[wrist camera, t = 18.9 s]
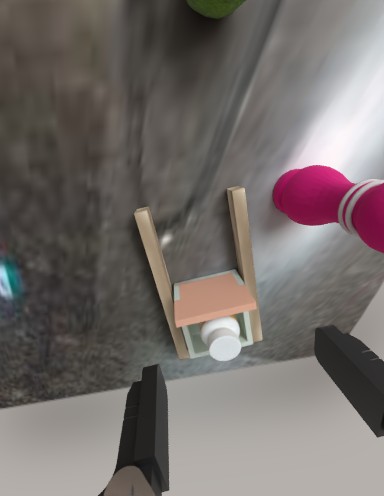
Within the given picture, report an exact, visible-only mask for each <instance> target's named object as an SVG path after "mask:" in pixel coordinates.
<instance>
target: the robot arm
mask: <svg viewBox="0 0 384 496" xmlns="http://www.w3.org/2000/svg"><path fill="white" fill-rule="evenodd" d="M314 351H315V355H316V358H317V360H318V362H319V363H320V365H321V366H322V367H323V368H324V370H325V371H326V372H327V373H328V375H329V376H330V377H331V379H332V380H333V381H334V382H335V384H336V385H337V386H338V388H339V389H340V390H341V391H342V393H343V394H344V395H345V397H346V398H347V399H348V400H349V402H350V403H351V404H352V405H353V407H354V408H355V409H356V410H357V412H358V413H359V414H360V416H361V417H362V418H363V420H364V421H365V422H366V423H367V425H368V426H369V427H370V429H371V430H372V431H373V432H374V434H375V435H376V436H377V437H381V436H384V361H383V360H381V359H379V357H378V356H377V355H376V354H375V353H374V352H372V351H370V349H369V348H368V347H367V346H366V345H365V344H364V343H362V342H361V341H360V340H358V339H357V338H355V337H353V336H351V335H350V334H348V333H346V334H343V333H342V332H341V331H340V330H338V329H337V328H336V327H335V326H334V325H328V326H324V327H319V328H316V330H315V347H314ZM168 490H169V456H168V399H167V389H166V385H165V381H164V378H163V375H162V372H161V368H160V365H159V364H156V365H152V366H148V367H144V368H143V371H142V381H138V382H134V383H133V384H132V386H131V388H130V390H129V392H128V394H127V400H126V410H125V413H124V421H123V426H122V433H121V439H120V446H119V452H118V459H117V464H116V469H115V471H114V474H113V477H112V478H111V480H110V481H109V483H108V485H107V486H106V488H105V489H104V490H103V492H101V493H100V494H99V495H98V496H162V494H161V493H162V492H164V491H168Z"/></svg>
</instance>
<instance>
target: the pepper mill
mask: <svg viewBox="0 0 384 496" xmlns="http://www.w3.org/2000/svg"><path fill="white" fill-rule="evenodd" d="M273 199H274V203H275V205H276V207H277V208H278V209H279V210H280V211H281V212H283V213H285V214H287V216H288V217H289V218H290V219H291V220H293V221H294V222H297V223H299V224H303V225H309V226H314V225H324V224H328V223H333V222H336V223H340V225H341V227H342V228H343V229H344V230H345V231H346V232H348V233H350V234H354V235H356V236H358V237H360V238H361V239H362V240H363V241H364V242H365V243H366V244H367V245H368V246H369V247H371V248H373V249H375V250H377V251H379V252H382V253H384V180H377V179H369V180H365V181H362V182H360V183H358V184H354V183H351V182H350V181H348V180H347V179H346V177H345V176H344V175H343V174H341V173H340V172H338V171H337V170H335V169H333V168H330V167H327V166H320V165H313V166H309V167H305V168H303V169H294V170H291V171H288V172H287V173H285V174H284V175H282V176H281V177H280V179H279V180H278V181H277V183H276V185H275V188H274V192H273Z"/></svg>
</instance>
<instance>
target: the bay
mask: <svg viewBox="0 0 384 496" xmlns="http://www.w3.org/2000/svg"><path fill="white" fill-rule="evenodd" d="M227 196H228V202H229V209H230V216H231V223H232V229H233V236H234V243H235V250H236V256H237V263H238V270H239V276H240V277H241V279H242V281H243V282H244V284H245V285H246V287H247V289H248V290H249V292H250V294H251V295H252V297H253V298H254V300H255V302H256V307H257V309H255V310H250V311H249V317H250V325H251V332H252V339H253V342H257V341H261V340H262V331H261V323H260V315H259V306H258V298H257V289H256V281H255V272H254V264H253V255H252V247H251V239H250V230H249V222H248V213H247V205H246V196H245V188H242V187H239V186H236V187H232V188H227ZM134 215H135V219H136V222H137V225H138V228H139V231H140V235H141V238H142V241H143V244H144V247H145V250H146V254H147V257H148V260H149V263H150V266H151V270H152V273H153V276H154V279H155V282H156V286H157V289H158V292H159V295H160V298H161V301H162V305H163V308H164V311H165V314H166V317H167V321H168V324H169V327H170V330H171V333H172V337H173V340H174V343H175V346H176V349H177V353H178V356H179V359H184V358H189V357H190V354H189V350H188V347H187V344H186V340H185V337H184V333H183V330H182V327H178V328H177V327H176V324H175V310H174V294H173V290H172V287H171V283H170V280H169V276H168V273H167V269H166V265H165V262H164V258H163V255H162V251H161V248H160V244H159V241H158V237H157V234H156V230H155V227H154V223H153V220H152V216H151V213H150V209H149V207H144V208H140V209H137V210H136V212H135V213H134Z"/></svg>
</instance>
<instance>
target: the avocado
mask: <svg viewBox="0 0 384 496" xmlns="http://www.w3.org/2000/svg"><path fill="white" fill-rule="evenodd" d="M186 1H187V3H188V4H189V6H190V7H191V8H192V9H193V10H195V11H196V12H198V13H200V14H202V15H203V16H205V17H210V18H216V19H219V18H222V17H224V16H227V15H229V14H231V13H232V12H233V11H235V10H236V9H237V8H238V7H239V6H240V5H241V4H242V3H243V2H244V1H246V0H186Z"/></svg>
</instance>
